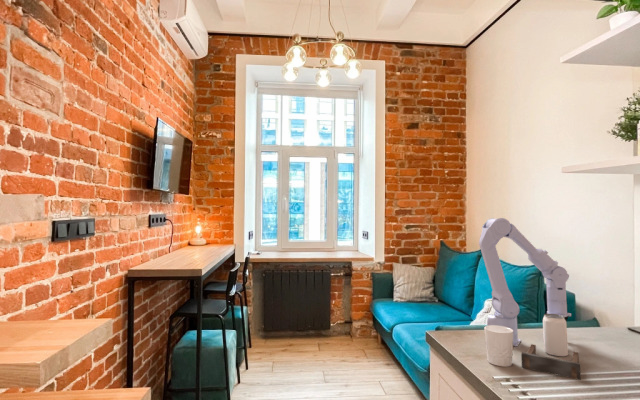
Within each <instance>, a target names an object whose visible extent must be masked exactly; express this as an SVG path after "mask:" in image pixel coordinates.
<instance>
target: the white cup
mask: <svg viewBox="0 0 640 400" xmlns="http://www.w3.org/2000/svg"><path fill="white" fill-rule="evenodd" d="M483 329H484V340H485V350H486V359H487V362H488V363H489V364H491V365H494V366H497V367H503V368H504V367H511V366H512V365H513V351H514V349H513V348H514V346H513V330H512V329H510V328H508V327H504V326H496V325H489V326H487V325H486V326H484V328H483Z"/></svg>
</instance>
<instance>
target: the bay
mask: <svg viewBox="0 0 640 400" xmlns="http://www.w3.org/2000/svg"><path fill="white" fill-rule="evenodd" d="M579 358H580V357H579V352H577V351H573V354H572V359H571V361H570V360H565V359H560V358H555V357H548V356H544V355H540V354H538V355H537V346H536V344H532V343H531V344H530V346H529V348H528V350H527V352H523V351H522V352H521V368H524V369H529V370H532V371H538V372H543V373H548V374H553V375H556V376H560V377H567V378H570V379H576V380H580V381H581V380H582V374H581V373H582V372H581V362H580V359H579Z"/></svg>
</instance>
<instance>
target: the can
mask: <svg viewBox="0 0 640 400" xmlns="http://www.w3.org/2000/svg"><path fill="white" fill-rule="evenodd" d="M566 323H567V321H565V319H564V316H562V315H558V314H547V313H545V314H543V318H542V333H543V334H542V335H543V351H544V352H545V353H546V354H547V355H549V356H553V357H562V358H563V357H567V356H568V355H569V346H568V328H567V327H568V326H567V324H566Z"/></svg>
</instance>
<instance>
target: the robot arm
mask: <svg viewBox="0 0 640 400" xmlns="http://www.w3.org/2000/svg"><path fill="white" fill-rule="evenodd" d="M503 238H507V239H509V240H511V241H512V242H514V244H516V245H517V246H518V247H519V248H521V250H523V251H524V252H525V253H526V254H527V259H528V261H529V262H530V263H532V264H533V265H534V266H535V267H536V268H537V269H538V270H539V271H540V272H541V273H542V277H544V278H545V281H546V305H547V308H546V309H547V311H546V314H558V315H562V316H564V319H565V321H566V325H567V321H568V319H569V317H572V313H570V312H568V304H567V303H568V302H567V289H566V287H567V284H566V283H567V282H568V280H569V278H570V274H568V271H567V269H566V268H565V267H563V266H560V265H559V262H558V261H557V260H554V259H553V258H552V257H551V256H549V252H548V251H547V250H546V249H545V250H544V249H542V248H536V247H535V246H534V245H533V244H532V242H530V241H529V239H527V238H526V236H525V235H523V234H522V232H521V231H519V230H518V228H517V227H516V226H515V225H514V224H512V223H511V222H510V221H509V220H508V219H506V218H504V217H499V218H494V217H492V218H489V219H487V220H486V221H485V223H484V224H483V225H482V227H481V234H480V237H479V241H478V246H479V249H480V252H481V255H482V258H483V259H482V260H483V261H484V265H485V268H486V273H487V275H488V279H489V282H490V286H491V289H492V291H491V296H492V299H491V300H492V301H491V306H492V308H493V310H494V314H488V315H487V322H486V323H487V324H486V326H489V325H496V326H504V327H508V328H510V329H512V330H513V347H518V346H519V344H520V343H521V341H522V340H521V339H520V338H519V337H518V336H519V334H518V333H519V332H518V315H519V314H520V306H519V304H518V303H517V302H516V300H515V298H514V297H513V294H512V292H511V291H510V289H509V287H508V283H507V280H506V277H505V273H504V270H503V267H502V264H501V260H500V256H499V253H498V250H497V246H496V245H498V243H499V242H500V241H501V239H503Z"/></svg>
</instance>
